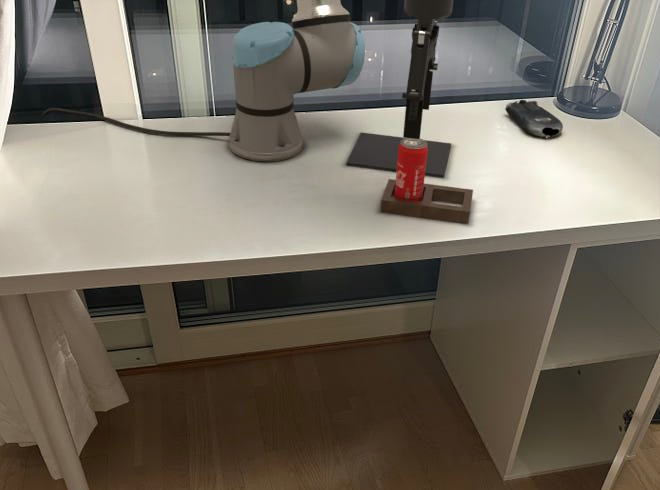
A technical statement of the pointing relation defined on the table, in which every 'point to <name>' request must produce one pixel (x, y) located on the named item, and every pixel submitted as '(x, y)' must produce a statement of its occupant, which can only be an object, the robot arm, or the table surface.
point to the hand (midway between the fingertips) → (416, 122)
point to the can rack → (430, 203)
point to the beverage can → (411, 169)
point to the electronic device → (534, 118)
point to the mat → (395, 154)
